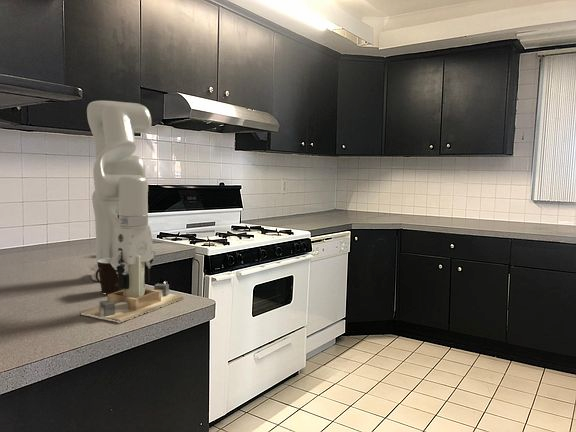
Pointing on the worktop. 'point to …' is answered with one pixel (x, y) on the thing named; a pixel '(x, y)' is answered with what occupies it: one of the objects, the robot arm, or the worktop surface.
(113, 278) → the coffee mug
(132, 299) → the board
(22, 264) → the worktop surface
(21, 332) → the worktop surface
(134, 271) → the skincare box
